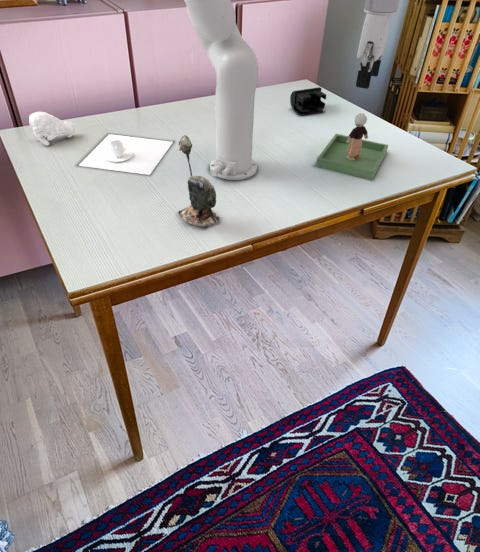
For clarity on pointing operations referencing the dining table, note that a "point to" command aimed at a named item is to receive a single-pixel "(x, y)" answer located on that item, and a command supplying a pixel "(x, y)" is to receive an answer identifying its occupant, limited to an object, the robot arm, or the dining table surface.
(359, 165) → the tray
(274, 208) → the dining table surface
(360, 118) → the grandmother figurine
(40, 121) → the white animal figurine
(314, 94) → the end cap
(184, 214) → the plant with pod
